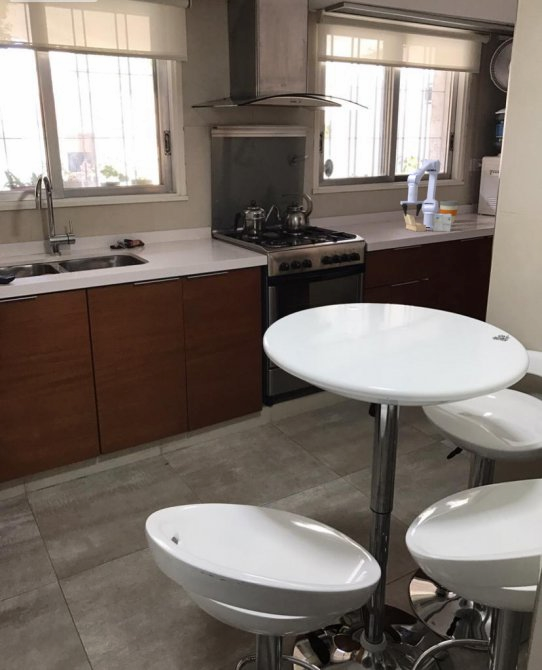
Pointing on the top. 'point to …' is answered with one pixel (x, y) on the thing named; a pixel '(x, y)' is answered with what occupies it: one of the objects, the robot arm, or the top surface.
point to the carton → (416, 227)
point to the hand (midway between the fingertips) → (411, 215)
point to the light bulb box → (441, 222)
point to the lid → (410, 219)
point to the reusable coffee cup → (449, 208)
